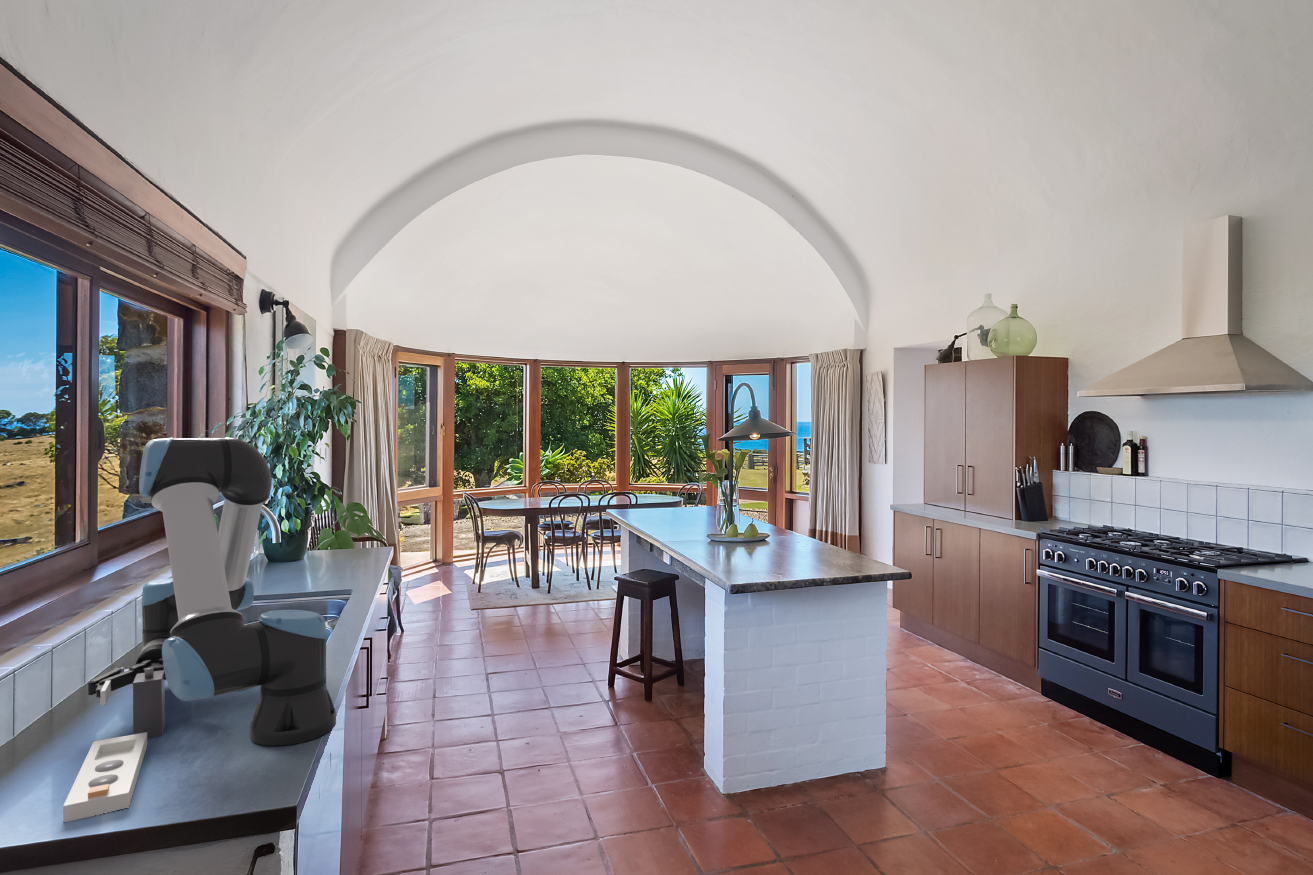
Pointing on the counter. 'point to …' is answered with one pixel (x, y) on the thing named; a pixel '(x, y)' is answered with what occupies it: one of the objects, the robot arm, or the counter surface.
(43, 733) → the counter surface
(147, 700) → the grey block with knob
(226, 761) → the counter surface
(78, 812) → the power strip
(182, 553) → the robot arm
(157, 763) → the counter surface
